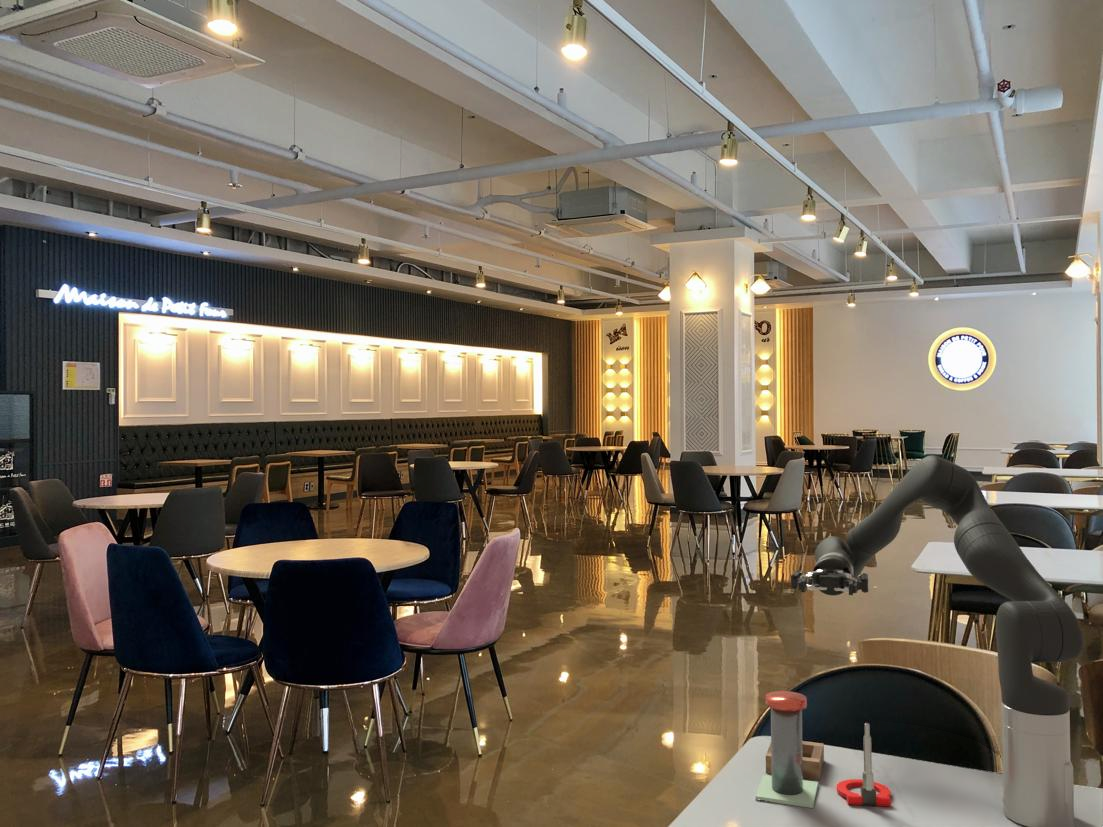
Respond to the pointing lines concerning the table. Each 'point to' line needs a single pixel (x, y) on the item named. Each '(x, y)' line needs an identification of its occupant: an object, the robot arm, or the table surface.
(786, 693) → the steel peg
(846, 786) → the tow hook
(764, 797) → the sage mat
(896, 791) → the table surface
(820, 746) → the brown square frame
